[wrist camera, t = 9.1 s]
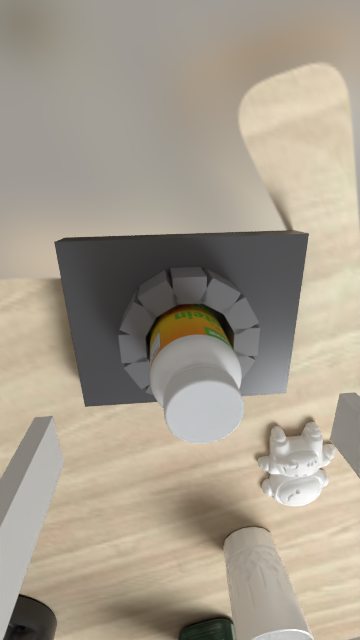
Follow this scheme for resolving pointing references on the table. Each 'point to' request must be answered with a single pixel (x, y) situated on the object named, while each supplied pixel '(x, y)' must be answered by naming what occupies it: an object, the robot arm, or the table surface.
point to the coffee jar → (209, 631)
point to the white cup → (261, 589)
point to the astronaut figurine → (296, 465)
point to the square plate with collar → (180, 288)
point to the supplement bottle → (195, 374)
